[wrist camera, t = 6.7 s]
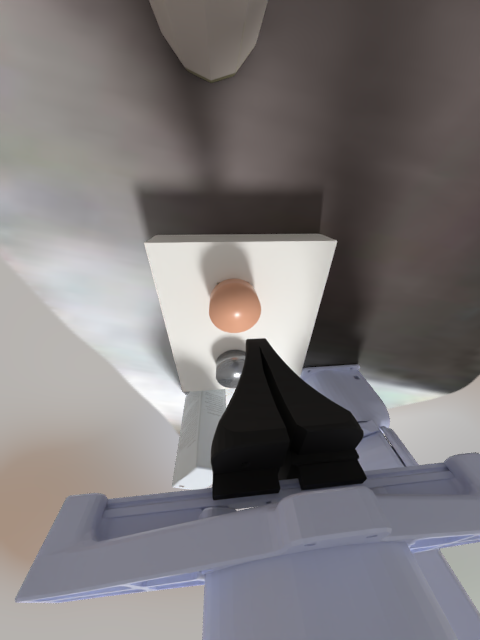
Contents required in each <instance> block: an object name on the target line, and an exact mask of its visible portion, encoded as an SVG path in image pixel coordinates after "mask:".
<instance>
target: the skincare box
mask: <svg viewBox="0 0 480 640" xmlns="http://www.w3.org/2000/svg"><path fill="white" fill-rule="evenodd" d="M225 410H226V395H225V389H219V390H205V391H191V392H189V393H188V395H187V396H186V398H185V405H184V411H183V418H182V424H181V431H180V437H179V443H178V450H177V456H176V462H175V468H174V476H173V483H172V487H174V488H183V489H190V490H196V489H205V488H207V487H208V486H210V485H211V484H212V483H213V472H212V466H211V446H212V441H213V437H214V434H215V431H216V428H217V425H218V422H219V420H220V419H221V417H222V415H223V413H224V412H225Z"/></svg>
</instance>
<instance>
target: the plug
mask: <svg viewBox="0 0 480 640" xmlns="http://www.w3.org/2000/svg"><path fill="white" fill-rule="evenodd" d="M244 362H245V351H242V350H229V351H226V352H224V353H222V354H221V355H220V356H219V357H218V358H217V361H216V380H217V382H218V383H219V384H220V385H222V386H224V387H227V388H236V387H237V385H238V382H239V379H240V376H241V373H242V370H243V366H244Z"/></svg>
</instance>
